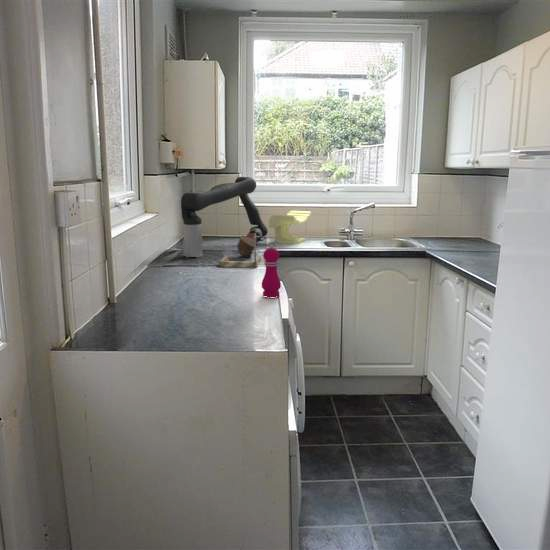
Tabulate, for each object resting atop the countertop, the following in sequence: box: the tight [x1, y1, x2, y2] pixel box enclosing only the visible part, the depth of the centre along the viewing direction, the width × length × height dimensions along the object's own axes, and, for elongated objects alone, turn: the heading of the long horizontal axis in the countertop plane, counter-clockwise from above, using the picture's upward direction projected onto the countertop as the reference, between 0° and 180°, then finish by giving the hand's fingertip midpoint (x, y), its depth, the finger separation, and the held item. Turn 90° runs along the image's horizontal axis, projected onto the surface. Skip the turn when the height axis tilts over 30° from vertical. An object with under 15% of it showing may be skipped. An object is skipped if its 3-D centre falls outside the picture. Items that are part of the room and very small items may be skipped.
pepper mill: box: [261, 243, 282, 297], centre depth 193 cm, size 7×7×20 cm
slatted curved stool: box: [268, 210, 312, 245], centre depth 320 cm, size 30×16×18 cm, turn 157°
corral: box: [219, 232, 262, 269], centre depth 252 cm, size 18×16×16 cm
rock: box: [237, 236, 254, 258], centre depth 271 cm, size 12×10×10 cm
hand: (250, 240), depth 281 cm, fingers closed
